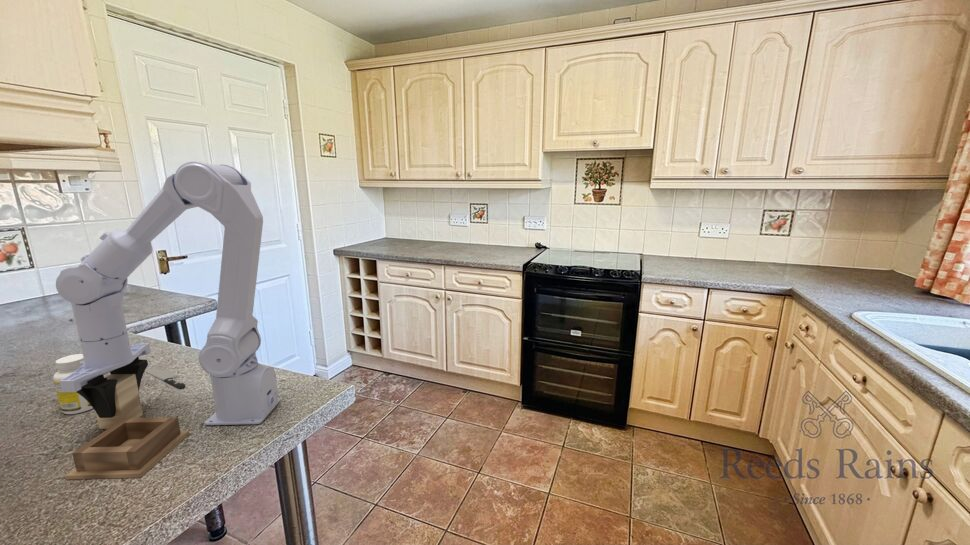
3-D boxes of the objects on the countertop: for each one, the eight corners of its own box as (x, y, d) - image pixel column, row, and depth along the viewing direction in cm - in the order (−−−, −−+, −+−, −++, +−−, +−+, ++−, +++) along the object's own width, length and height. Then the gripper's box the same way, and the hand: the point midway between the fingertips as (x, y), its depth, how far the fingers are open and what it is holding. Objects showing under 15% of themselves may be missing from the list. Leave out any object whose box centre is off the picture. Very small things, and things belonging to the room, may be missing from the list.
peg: (143, 414, 69) (135, 374, 68) (124, 428, 66) (115, 385, 64) (119, 415, 69) (111, 374, 68) (99, 428, 65) (89, 385, 64)
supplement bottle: (100, 396, 75) (90, 349, 73) (105, 406, 72) (94, 357, 70) (60, 407, 71) (48, 358, 69) (62, 419, 68) (50, 367, 66)
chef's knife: (154, 365, 90) (138, 369, 87) (153, 360, 90) (137, 365, 87) (196, 385, 81) (180, 390, 78) (196, 380, 81) (179, 385, 78)
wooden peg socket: (189, 433, 64) (186, 414, 64) (140, 477, 55) (136, 455, 54) (126, 435, 64) (122, 415, 63) (65, 479, 54) (60, 457, 53)
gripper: (116, 320, 71) (130, 388, 74) (30, 353, 57) (51, 435, 60) (157, 320, 71) (168, 387, 74) (81, 353, 57) (99, 434, 60)
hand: (119, 409), depth 67 cm, fingers closed on peg, 4 cm apart
